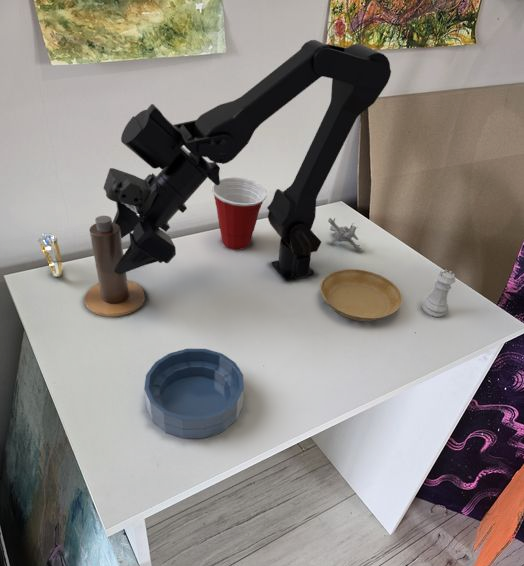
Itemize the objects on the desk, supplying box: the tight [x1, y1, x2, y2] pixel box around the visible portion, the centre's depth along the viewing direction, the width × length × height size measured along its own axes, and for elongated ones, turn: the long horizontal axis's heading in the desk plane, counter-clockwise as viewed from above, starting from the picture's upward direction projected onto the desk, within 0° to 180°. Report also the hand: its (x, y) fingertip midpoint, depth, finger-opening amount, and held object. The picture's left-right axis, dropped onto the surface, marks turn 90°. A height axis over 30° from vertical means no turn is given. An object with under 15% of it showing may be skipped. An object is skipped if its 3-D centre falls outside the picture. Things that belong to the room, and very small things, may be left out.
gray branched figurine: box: [327, 217, 362, 253], centre depth 104 cm, size 10×6×9 cm
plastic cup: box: [211, 176, 268, 251], centre depth 99 cm, size 11×11×12 cm
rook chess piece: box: [421, 269, 456, 318], centre depth 87 cm, size 4×4×8 cm
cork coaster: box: [84, 280, 146, 318], centre depth 85 cm, size 10×10×1 cm
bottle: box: [89, 215, 129, 304], centre depth 80 cm, size 5×5×15 cm
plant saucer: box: [319, 268, 403, 322], centre depth 89 cm, size 15×15×3 cm
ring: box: [36, 232, 63, 278], centre depth 87 cm, size 7×3×8 cm, turn 32°
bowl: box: [143, 348, 245, 439], centre depth 68 cm, size 13×13×4 cm
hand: (111, 257), depth 80 cm, fingers open, 9 cm apart
